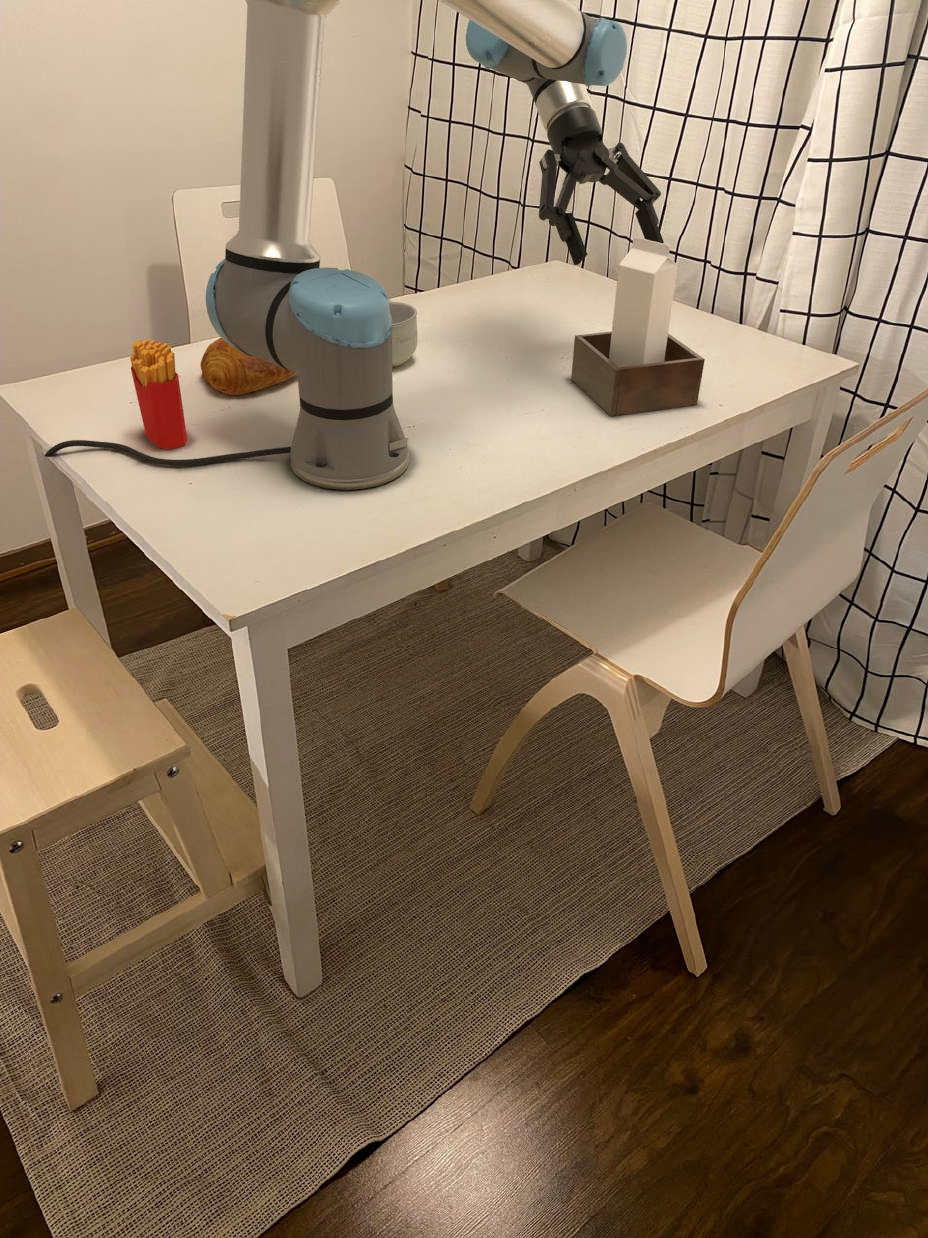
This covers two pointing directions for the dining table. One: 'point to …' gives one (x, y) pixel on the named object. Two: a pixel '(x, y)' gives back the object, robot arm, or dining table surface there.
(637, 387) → the caddy
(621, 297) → the milk
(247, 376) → the croissant
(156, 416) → the french fries
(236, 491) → the dining table surface
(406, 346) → the teacup
